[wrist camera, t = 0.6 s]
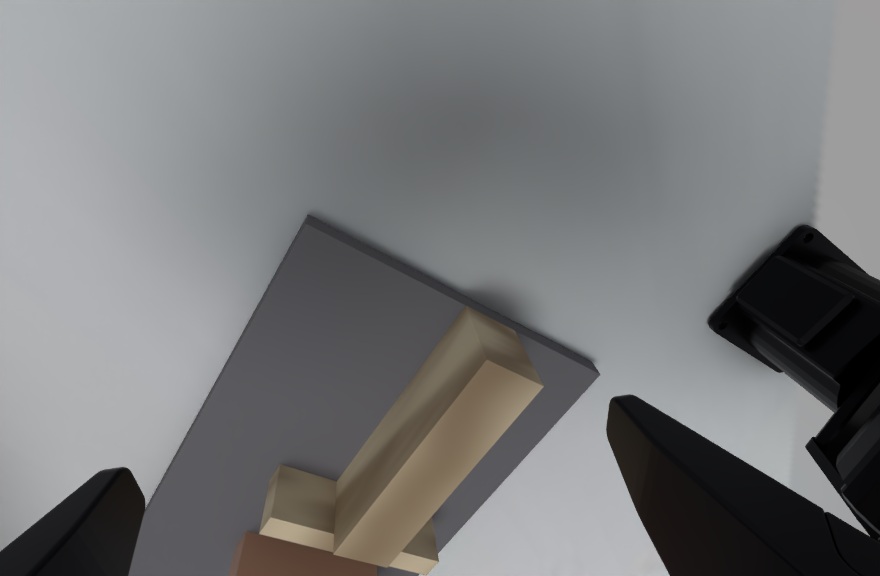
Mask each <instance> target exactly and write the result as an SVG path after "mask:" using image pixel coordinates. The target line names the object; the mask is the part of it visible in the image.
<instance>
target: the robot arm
mask: <svg viewBox="0 0 880 576" xmlns="http://www.w3.org/2000/svg"><path fill="white" fill-rule="evenodd" d="M805 235H806V236H805ZM804 237H805V238H804ZM721 322H722V323H721ZM720 323H721V324H720ZM709 327H710V328H711V329H712V330H713V331H714V332H715V333H717V334H718V335H720V336H721V337H723V338H725V339H726V340H728V341H729V342H731V343H732V344H734V345H736V346H737V347H739V348H740V349H742V350H743V351H745V352H747V353H748V354H750V355H751V356H753V357H754V358H756V359H758V360H759V361H761V362H762V363H764V364H765V365H767V366H769V367H770V368H772V369H773V370H775V371H776V372H779V373H781V372H784V373H785V374H787V375H788V376H789V377H790V378H792V379H793V380H794V381H795V382H797V383H798V384H799V385H800V386H802V387H803V388H804V389H805V390H807V391H808V392H809V393H810V394H812V395H813V396H814V397H815V398H817V399H818V400H819V401H820V402H822V403H823V404H824V405H825V406H827V407H828V408H829V409H830V410H832V411H833V412H834V414H833V415H832V417H831V418H830V419H829V421H828V422H827V423H826V424H825V426H824V427H823V428H822V429H821V431H820V432H819V433H818V434H817V436H816V437H812V438H811V440H810V441H809V442H808V443H807V445H806V446H805V447H806V449H807V450H808V452H809V453H810V455H811V456H812V457H813V459H814V460H815V462H816V463H817V464H818V466H819V467H820V468H821V470H822V471H823V473H824V474H825V475H826V477H827V478H828V480H829V481H830V482H831V484H832V485H833V486H834V488H835V489H836V491H837V492H838V493H839V495H840V496H841V498H842V499H843V500H844V502H845V503H846V505H847V506H848V507H849V508H850V510H851V512H852V513H853V514H854V516H855V517H856V519H857V520H858V521H859V522H860V523H861V525H862V526H863V527H864V529H865V530H866V531H867V533H868V534H869V535H870V536H868V535H866V534H864V533H863V532H861V531H859V530H858V529H856V528H854V527H852V526H851V525H849V524H847V523H846V522H844V521H842V520H841V519H839V518H838V517H836V516H834V515H833V514H831V513H829V512H825V513H824V511H823V509H822V508H821V507H819V506H817V505H816V504H814V503H812V502H811V501H809V500H807V499H806V498H804V497H802V496H801V495H799V494H797V493H796V492H794V491H792V490H791V489H789V488H787V487H786V486H784V485H782V484H781V483H779V482H778V481H776V480H774V479H773V478H771V477H769V476H768V475H766V474H764V473H763V472H761V471H759V470H758V469H756V468H754V467H753V466H751V465H749V464H748V463H746V462H744V461H743V460H741V459H739V458H738V457H736V456H734V455H733V454H731V453H729V452H728V451H726V450H724V449H723V448H721V447H719V446H718V445H716V444H714V443H713V442H711V441H709V440H708V439H706V438H705V437H703V436H701V435H700V434H698V433H696V432H695V431H693V430H691V429H690V428H688V427H686V426H685V425H683V424H681V423H680V422H678V421H676V420H675V419H673V418H671V417H670V416H668V415H666V414H665V413H663V412H661V411H660V410H658V409H656V408H655V407H653V406H651V405H650V404H648V403H646V402H645V401H643V400H641V399H640V398H638V397H636V396H634V395H623V396H616V397H613V398H612V399H611V400H610V404H609V412H608V419H607V428H606V430H607V437H608V440H609V443H610V446H611V448H612V451H613V453H614V456H615V458H616V461H617V463H618V466H619V468H620V471H621V473H622V476H623V478H624V481H625V483H626V486H627V488H628V491H629V494H630V496H631V499H632V501H633V503H634V506H635V508H636V511H637V513H638V515H639V517H640V519H641V521H642V523H643V525H644V527H645V529H646V531H647V533H648V535H649V537H650V539H651V541H652V542H653V544H654V546H655V548H656V550H657V552H658V554H659V556H660V558H661V560H662V562H663V563H664V565H665V567H666V569H667V571H668V573H669V575H670V576H880V280H878V279H876V278H874V277H872V276H870V275H868V274H867V273H866V272H865V271H864V270H863V269H861V268H860V267H859V266H858V265H857V264H856V263H855V262H853V261H852V260H851V259H850V258H849V257H848V256H847V255H845V254H844V253H843V252H842V251H841V250H840V249H838V248H837V247H836V246H835V245H834V244H833V243H832V242H831V241H829V240H828V239H827V238H826V237H825V236H824V235H823V234H821V233H820V232H819V231H818V230H817V229H815V228H812V227H810V226H808V225H803V226H801V227H799V228H798V229H797V230H795V231H794V232H793V234H792V235H791V236H790V237H789V238H788V239H787V240H786V241H785V242H784V243H783V244H782V245H781V246H780V247H779V248H778V249H777V250H776V251H775V252H774V253H773V254H772V255H771V256H770V257H769V259H768V260H767V261H766V262H765V263H764V264H763V265H762V266H761V267H760V268H759V269H758V270H757V271H756V272H755V273H754V274H753V275H752V276H751V277H750V278H749V279H748V280H747V281H746V282H745V284H744V285H743V286H742V287H741V288H740V289H739V290H738V291H737V292H736V293H735V294H734V295H733V296H732V297H731V298H730V299H729V300H728V301H727V302H726V303H725V304H724V305H723V306H722V307H721V309H720V310H719V311H718V312H717V313H716V314H715V315H714V316H713V317H712V318H711V319H710V321H709ZM144 512H145V498H144V495H143V493H142V491H141V489H140V488H139V486H138V484H137V482H136V480H135V478H134V476H133V474H132V473H131V471H130V470H129V469H128V468H126V467H119V468H112V469H105V470H102V471H100V472H98V473H97V474H95V475H94V476H93V477H92V478H90V479H89V480H88V481H87V482H86V483H84V484H83V485H82V486H81V487H79V488H78V489H77V490H76V491H74V492H73V493H72V494H71V495H69V496H68V497H67V498H66V499H65V500H63V501H62V502H61V503H60V504H58V505H57V506H56V507H55V508H53V509H52V510H51V511H50V512H49V513H47V514H46V515H45V516H44V517H42V518H41V519H40V520H39V521H37V522H36V523H35V524H34V525H33V526H31V527H30V528H29V529H28V530H26V531H25V532H24V533H23V534H21V535H20V536H19V537H18V538H16V539H15V540H14V541H13V542H12V543H10V544H9V545H8V546H7V547H5V548H4V549H3V550H2V551H0V576H128V575H129V571H130V567H131V563H132V559H133V555H134V551H135V547H136V543H137V540H138V536H139V532H140V528H141V524H142V520H143V516H144Z"/></svg>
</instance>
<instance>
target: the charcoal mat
mask: <svg viewBox="0 0 880 576" xmlns="http://www.w3.org/2000/svg"><path fill="white" fill-rule="evenodd" d="M465 306H468V307H470V308H472V309H474V310H476V311H478V312H480V313H481V314H483V315H485V316H487V317H489V318H491V319H493V320H495V321H497V322H499V323H501V324H503V325H505V326H507V327H509V328H511V329H513V330H515V332H516V334H517V336H518V338H519V339H520V341H521V343H522V345H523V347H524V349H525V351H526V353H527V355H528V357H529V359H530V361H531V363H532V364H533V366H534V368H535V370H536V372H537V374H538V376H539V378H540V380H541V382H542V384H543V386H544V387H543V388H542V389H541V390H540V392H539V393H538V394H537V395H536V396H535V397H534V399H533V400H532V401H531V402H530V403H529V404H528V405H527V407H526V408H525V409H524V410H523V411H522V412H521V414H520V415H519V416H518V417H517V418H516V419H515V421H514V422H513V423H512V424H511V425H510V426H509V427H508V429H507V430H506V431H505V432H504V433H503V434H502V436H501V437H500V438H499V439H498V440H497V441H496V443H495V444H494V445H493V446H492V447H491V448H490V449H489V451H488V452H487V453H486V454H485V455H484V456H483V458H482V459H481V460H480V461H479V462H478V463H477V465H476V466H475V467H474V468H473V469H472V470H471V471H470V473H469V474H468V475H467V476H466V477H465V478H464V480H463V481H462V482H461V483H460V484H459V485H458V487H457V488H456V489H455V490H454V491H453V492H452V493H451V495H450V496H449V497H448V498H447V499H446V500H445V502H444V503H443V504H442V505H441V506H440V507H439V509H438V510H437V511H436V512H435V513H434V514H433V515H432V520H433V526H434V533H435V539H436V546H437V553H439V552H440V551H441V550H442V549H443V547H444V546H445V545H446V544H447V543H448V542H449V541H450V540H451V539H452V537H453V536H454V535H455V534H456V533H457V532H458V531H459V530H460V529H461V528H462V526H463V525H464V524H465V523H466V522H467V521H468V520H469V519H470V518H471V517H472V515H473V514H474V513H475V512H476V511H477V510H478V509H479V508H480V507H481V505H482V504H483V503H484V502H485V501H486V500H487V499H488V498H489V497H490V496H491V494H492V493H493V492H494V491H495V490H496V489H497V488H498V487H499V486H500V485H501V483H502V482H503V481H504V480H505V479H506V478H507V477H508V476H509V475H510V474H511V472H512V471H513V470H514V469H515V468H516V467H517V466H518V465H519V464H520V462H521V461H522V460H523V459H524V458H525V457H526V456H527V455H528V454H529V453H530V451H531V450H532V449H533V448H534V447H535V446H536V445H537V444H538V443H539V442H540V440H541V439H542V438H543V437H544V436H545V435H546V434H547V433H548V432H549V431H550V429H551V428H552V427H553V426H554V425H555V424H556V423H557V422H558V421H559V419H560V418H561V417H562V416H563V415H564V414H565V413H566V412H567V411H568V410H569V408H570V407H571V406H572V405H573V404H574V403H575V402H576V401H577V400H578V399H579V397H580V396H581V395H582V394H583V393H584V392H585V391H586V390H587V389H588V387H589V386H590V385H591V384H592V383H593V382H594V381H595V380H596V379H597V378H598V376H599V375H600V373H599V372H598V370H597V369H596V367H595V366H594V365H593V363H592V362H590V361H588V360H586V359H584V358H582V357H581V356H579V355H577V354H575V353H573V352H571V351H569V350H567V349H565V348H563V347H561V346H559V345H557V344H556V343H554V342H552V341H550V340H548V339H546V338H544V337H542V336H540V335H538V334H536V333H534V332H532V331H531V330H529V329H527V328H525V327H523V326H521V325H519V324H517V323H515V322H513V321H511V320H509V319H507V318H506V317H504V316H502V315H500V314H498V313H496V312H494V311H492V310H490V309H488V308H486V307H484V306H483V305H481V304H479V303H477V302H475V301H473V300H471V299H469V298H467V297H465V296H463V295H461V294H459V293H458V292H456V291H454V290H452V289H450V288H448V287H446V286H444V285H442V284H440V283H438V282H436V281H434V280H433V279H431V278H429V277H427V276H425V275H423V274H421V273H419V272H417V271H415V270H413V269H411V268H409V267H408V266H406V265H404V264H402V263H400V262H398V261H396V260H394V259H392V258H390V257H388V256H386V255H384V254H383V253H381V252H379V251H377V250H375V249H373V248H371V247H369V246H367V245H365V244H363V243H361V242H359V241H358V240H356V239H354V238H352V237H350V236H348V235H346V234H344V233H342V232H340V231H338V230H336V229H334V228H333V227H331V226H329V225H327V224H325V223H323V222H321V221H319V220H317V219H315V218H313V217H311V216H309V215H307V217H306V219H305V221H304V223H303V224H302V226H301V228H300V230H299V232H298V233H297V235H296V237H295V239H294V241H293V243H292V244H291V246H290V248H289V250H288V252H287V253H286V255H285V257H284V259H283V261H282V262H281V264H280V266H279V268H278V270H277V272H276V273H275V275H274V277H273V279H272V281H271V282H270V284H269V286H268V288H267V290H266V292H265V293H264V295H263V297H262V299H261V301H260V302H259V304H258V306H257V308H256V310H255V311H254V313H253V315H252V317H251V319H250V321H249V322H248V324H247V326H246V328H245V330H244V331H243V333H242V335H241V337H240V339H239V340H238V342H237V344H236V346H235V348H234V350H233V351H232V353H231V355H230V357H229V359H228V360H227V362H226V364H225V366H224V368H223V369H222V371H221V373H220V375H219V377H218V379H217V380H216V382H215V384H214V386H213V388H212V389H211V391H210V393H209V395H208V397H207V398H206V400H205V402H204V404H203V406H202V408H201V409H200V411H199V413H198V415H197V417H196V418H195V420H194V422H193V424H192V426H191V427H190V429H189V431H188V433H187V435H186V437H185V438H184V440H183V442H182V444H181V446H180V447H179V449H178V451H177V453H176V455H175V456H174V458H173V460H172V462H171V464H170V466H169V467H168V469H167V471H166V473H165V475H164V476H163V478H162V480H161V482H160V484H159V486H158V487H157V489H156V491H155V493H154V495H153V496H152V498H151V500H150V502H149V504H148V505H147V507H146V509H145V512H144V516H143V520H142V524H141V528H140V532H139V536H138V540H137V543H136V547H135V551H134V555H133V559H132V563H131V567H130V571H129V575H128V576H228V575H229V571H230V567H231V563H232V558H233V554H234V550H235V547H236V546H237V544H238V543H239V541H240V540H241V538H242V537H243V535H244V534H245V532H246V531H247V532H251V533H255V534H259V532H260V527H261V522H262V517H263V512H264V507H265V502H266V497H267V492H268V486H269V481H270V479H271V477H272V476H273V474H274V473H275V471H276V470H277V468H278V467H279V465H280V464H281V465H285V466H288V467H291V468H294V469H298V470H301V471H304V472H307V473H311V474H314V475H317V476H320V477H323V478H327V479H330V480H333V481H336V482H337V480H338V479H339V478H340V476H341V475H342V474H343V472H344V471H345V470H346V468H347V467H348V465H349V464H350V463H351V461H352V460H353V459H354V457H355V456H356V455H357V453H358V452H359V450H360V449H361V448H362V446H363V445H364V444H365V442H366V441H367V440H368V438H369V437H370V436H371V434H372V433H373V431H374V430H375V429H376V427H377V426H378V425H379V423H380V422H381V421H382V419H383V418H384V416H385V415H386V414H387V412H388V411H389V410H390V408H391V407H392V406H393V404H394V403H395V401H396V400H397V399H398V397H399V396H400V395H401V393H402V392H403V391H404V389H405V388H406V386H407V385H408V384H409V382H410V381H411V380H412V378H413V377H414V376H415V374H416V373H417V371H418V370H419V369H420V367H421V366H422V365H423V363H424V362H425V361H426V359H427V358H428V357H429V355H430V354H431V352H432V351H433V350H434V348H435V347H436V346H437V344H438V343H439V342H440V340H441V339H442V337H443V336H444V335H445V333H446V332H447V331H448V329H449V328H450V327H451V325H452V324H453V322H454V321H455V320H456V318H457V317H458V316H459V314H460V313H461V312H462V310H463V309H464V307H465ZM259 535H261V534H259ZM263 536H265V535H263ZM267 537H269V536H267ZM271 538H273V537H271ZM275 539H278V538H275ZM279 540H282V539H279ZM284 541H286V540H284ZM288 542H290V541H288ZM292 543H294V542H292ZM296 544H298V543H296ZM300 545H302V544H300ZM304 546H306V545H304ZM308 547H310V546H308ZM312 548H314V547H312ZM316 549H318V548H316ZM320 550H322V549H320ZM324 551H326V550H324ZM328 552H330V551H328ZM332 553H333V552H332ZM418 575H419V573H415V572H411V571H407V570H403V569H398V568H394V567H390V566H388V568H386V567H382V566H378V565H377V576H418Z"/></svg>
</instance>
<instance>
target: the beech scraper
mask: <svg viewBox="0 0 880 576" xmlns="http://www.w3.org/2000/svg"><path fill="white" fill-rule="evenodd" d="M543 387H544V386H543V384H542V382H541V380H540V378H539V376H538V374H537V372H536V370H535V368H534V366H533V364H532V363H531V361H530V359H529V357H528V355H527V353H526V351H525V349H524V347H523V345H522V343H521V341H520V339H519V338H518V336H517V334H516V332H515V330H513V329H511V328H509V327H507V326H505V325H503V324H501V323H499V322H497V321H495V320H493V319H491V318H489V317H487V316H485V315H483V314H481V313H480V312H478V311H476V310H474V309H472V308H470V307H468V306H465V307H464V309H463V310H462V312H461V313H460V314H459V316H458V317H457V318H456V320H455V321H454V322H453V324H452V325H451V327H450V328H449V329H448V331H447V332H446V333H445V335H444V336H443V337H442V339H441V340H440V342H439V343H438V344H437V346H436V347H435V348H434V350H433V351H432V352H431V354H430V355H429V357H428V358H427V359H426V361H425V362H424V363H423V365H422V366H421V367H420V369H419V370H418V371H417V373H416V374H415V376H414V377H413V378H412V380H411V381H410V382H409V384H408V385H407V386H406V388H405V389H404V391H403V392H402V393H401V395H400V396H399V397H398V399H397V400H396V401H395V403H394V404H393V406H392V407H391V408H390V410H389V411H388V412H387V414H386V415H385V416H384V418H383V419H382V421H381V422H380V423H379V425H378V426H377V427H376V429H375V430H374V431H373V433H372V434H371V436H370V437H369V438H368V440H367V441H366V442H365V444H364V445H363V446H362V448H361V449H360V450H359V452H358V453H357V455H356V456H355V457H354V459H353V460H352V461H351V463H350V464H349V465H348V467H347V468H346V470H345V471H344V472H343V474H342V475H341V476H340V478H339V479H338V480H337V482H336V481H333V480H330V479H327V478H323V477H320V476H317V475H314V474H311V473H307V472H304V471H301V470H298V469H294V468H291V467H288V466H285V465H281V464H280V465H279V467H278V468H277V470H276V471H275V473H274V474H273V476H272V477H271V479H270V481H269V486H268V492H267V497H266V502H265V507H264V512H263V517H262V522H261V527H260V532H259V534H261V535H265V536H269V537H273V538H278V539H282V540H286V541H290V542H294V543H298V544H302V545H306V546H310V547H314V548H318V549H322V550H326V551H330V552H333V555H337V556H341V557H345V558H349V559H354V560H358V561H362V562H366V563H370V564H374V565H378V566H382V567H386V568H388V566H390V567H394V568H398V569H403V570H407V571H411V572H415V573H419V574H423V575H427V574H428V573H429V572H430V571H431V570H432V569H433V568H434V566H435V565H436V564H437V563H438V562H439V559H438V553H437V546H436V539H435V533H434V526H433V520H432V515H433V514H434V513H435V512H436V511H437V510H438V509H439V507H440V506H441V505H442V504H443V503H444V502H445V500H446V499H447V498H448V497H449V496H450V495H451V493H452V492H453V491H454V490H455V489H456V488H457V487H458V485H459V484H460V483H461V482H462V481H463V480H464V478H465V477H466V476H467V475H468V474H469V473H470V471H471V470H472V469H473V468H474V467H475V466H476V465H477V463H478V462H479V461H480V460H481V459H482V458H483V456H484V455H485V454H486V453H487V452H488V451H489V449H490V448H491V447H492V446H493V445H494V444H495V443H496V441H497V440H498V439H499V438H500V437H501V436H502V434H503V433H504V432H505V431H506V430H507V429H508V427H509V426H510V425H511V424H512V423H513V422H514V421H515V419H516V418H517V417H518V416H519V415H520V414H521V412H522V411H523V410H524V409H525V408H526V407H527V405H528V404H529V403H530V402H531V401H532V400H533V399H534V397H535V396H536V395H537V394H538V393H539V392H540V390H541V389H542V388H543Z"/></svg>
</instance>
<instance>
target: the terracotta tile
mask: <svg viewBox="0 0 880 576" xmlns="http://www.w3.org/2000/svg"><path fill="white" fill-rule="evenodd" d="M228 576H377V565H374V564H370V563H366V562H362V561H358V560H354V559H349V558H345V557H341V556H337V555H333V553H332V552H328V551H324V550H320V549H316V548H312V547H308V546H304V545H300V544H296V543H292V542H288V541H284V540H279V539H275V538H271V537H267V536H263V535H259V534H255V533H251V532H247V531H246V532H245V534H244V535H243V537H242V538H241V540H240V541H239V543H238V544H237V546H236V547H235V550H234V554H233V558H232V563H231V567H230V571H229V575H228Z"/></svg>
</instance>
